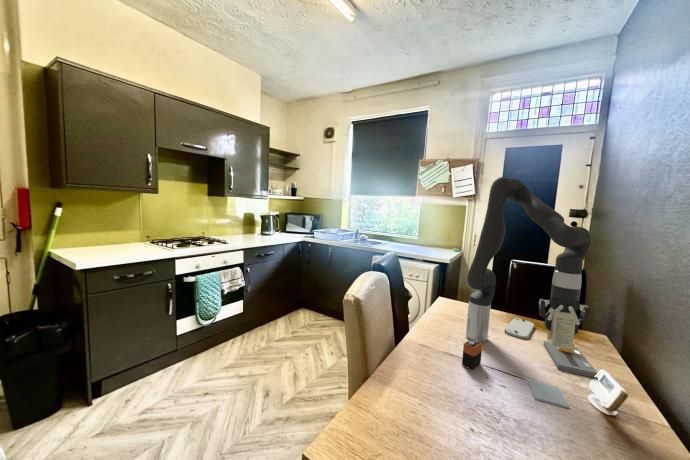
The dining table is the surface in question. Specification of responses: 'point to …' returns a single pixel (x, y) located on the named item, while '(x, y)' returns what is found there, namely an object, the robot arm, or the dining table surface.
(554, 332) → the skincare box
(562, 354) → the switch panel
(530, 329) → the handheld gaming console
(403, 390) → the dining table surface
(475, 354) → the battery
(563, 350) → the slider tab
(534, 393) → the mat
